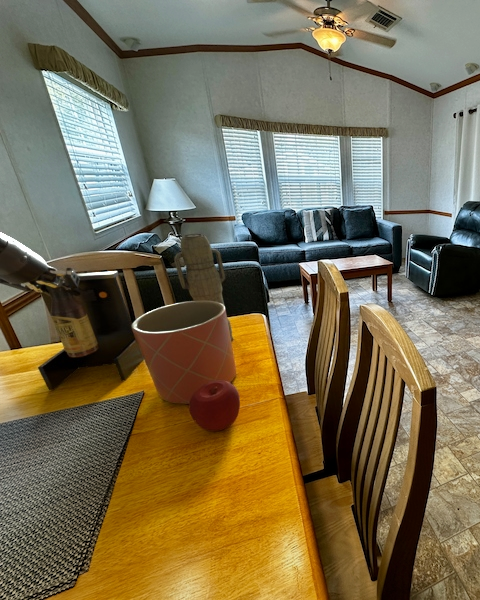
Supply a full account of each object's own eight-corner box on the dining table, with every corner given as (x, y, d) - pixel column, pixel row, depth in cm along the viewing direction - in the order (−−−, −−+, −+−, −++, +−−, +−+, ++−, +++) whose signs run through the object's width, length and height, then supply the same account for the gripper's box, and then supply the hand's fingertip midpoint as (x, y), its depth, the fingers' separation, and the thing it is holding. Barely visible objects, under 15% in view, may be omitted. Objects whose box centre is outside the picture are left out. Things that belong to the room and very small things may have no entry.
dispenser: (76, 366, 94) (36, 276, 84) (147, 357, 98) (117, 271, 88) (46, 390, 84) (-4, 291, 73) (127, 380, 88) (91, 284, 78)
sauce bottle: (62, 357, 84) (28, 284, 77) (88, 345, 90) (59, 276, 82) (81, 360, 83) (48, 286, 75) (106, 348, 88) (78, 278, 81)
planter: (196, 416, 75) (172, 339, 67) (137, 398, 81) (110, 326, 73) (255, 370, 92) (242, 305, 84) (203, 359, 97) (186, 296, 90)
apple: (193, 446, 67) (180, 407, 63) (200, 415, 75) (189, 379, 71) (243, 433, 70) (234, 395, 66) (245, 405, 78) (237, 370, 74)
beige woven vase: (243, 339, 109) (221, 233, 95) (205, 353, 100) (175, 240, 87) (231, 331, 114) (208, 230, 101) (194, 344, 105) (164, 236, 92)
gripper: (52, 241, 70) (103, 278, 85) (-33, 244, 66) (37, 282, 82) (43, 271, 67) (98, 304, 82) (-45, 276, 64) (29, 309, 79)
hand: (67, 293), depth 82 cm, fingers closed on sauce bottle, 4 cm apart
